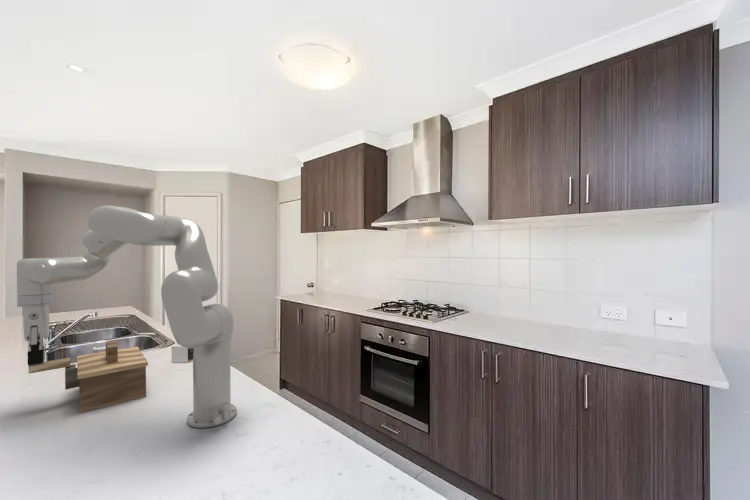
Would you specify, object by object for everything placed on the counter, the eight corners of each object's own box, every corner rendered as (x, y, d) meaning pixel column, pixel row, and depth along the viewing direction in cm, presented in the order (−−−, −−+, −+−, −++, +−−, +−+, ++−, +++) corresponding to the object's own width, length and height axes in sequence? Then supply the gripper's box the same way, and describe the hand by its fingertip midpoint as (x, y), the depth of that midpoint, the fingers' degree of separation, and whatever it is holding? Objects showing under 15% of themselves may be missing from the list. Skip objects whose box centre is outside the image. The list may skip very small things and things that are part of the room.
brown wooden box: (146, 396, 110) (145, 362, 110) (64, 416, 97) (64, 377, 97) (136, 377, 126) (136, 347, 126) (66, 392, 113) (65, 359, 113)
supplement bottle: (104, 363, 141) (104, 339, 141) (113, 365, 139) (113, 340, 139) (89, 368, 136) (89, 342, 136) (98, 370, 134) (98, 343, 134)
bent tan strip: (70, 366, 105) (70, 340, 105) (28, 373, 99) (28, 346, 99) (70, 363, 107) (70, 338, 107) (29, 370, 101) (29, 343, 101)
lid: (147, 365, 110) (147, 346, 110) (77, 379, 98) (77, 357, 98) (137, 349, 127) (137, 333, 127) (77, 359, 116) (76, 341, 116)
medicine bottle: (188, 362, 142) (188, 334, 142) (171, 362, 142) (171, 334, 142) (197, 357, 149) (197, 329, 149) (181, 357, 149) (181, 329, 149)
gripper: (51, 302, 97) (52, 366, 97) (54, 296, 109) (54, 353, 110) (13, 305, 92) (13, 373, 92) (20, 298, 104) (21, 358, 105)
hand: (36, 361), depth 101 cm, fingers closed on bent tan strip, 3 cm apart
